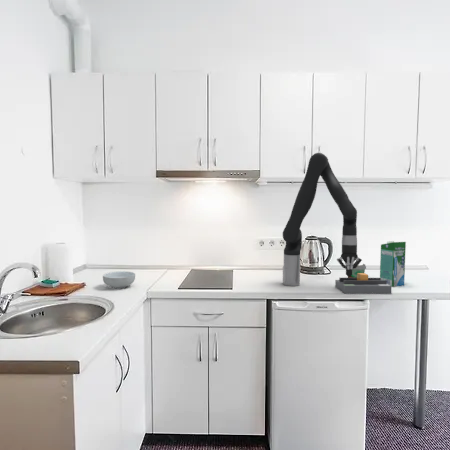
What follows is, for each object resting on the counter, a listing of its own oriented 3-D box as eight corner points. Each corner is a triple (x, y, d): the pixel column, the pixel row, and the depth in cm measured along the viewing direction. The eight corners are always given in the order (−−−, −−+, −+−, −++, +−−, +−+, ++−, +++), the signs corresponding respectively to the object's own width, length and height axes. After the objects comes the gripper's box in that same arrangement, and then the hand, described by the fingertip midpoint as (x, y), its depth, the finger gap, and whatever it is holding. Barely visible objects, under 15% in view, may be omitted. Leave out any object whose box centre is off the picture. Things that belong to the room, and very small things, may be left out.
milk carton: (391, 281, 195) (392, 239, 194) (404, 285, 187) (405, 241, 186) (379, 283, 192) (380, 240, 191) (392, 286, 184) (393, 242, 182)
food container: (352, 283, 191) (352, 266, 190) (345, 281, 197) (346, 264, 196) (370, 282, 194) (370, 265, 194) (363, 280, 200) (363, 263, 199)
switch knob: (360, 283, 173) (360, 274, 173) (356, 281, 177) (357, 273, 177) (367, 283, 173) (368, 274, 173) (364, 281, 177) (364, 273, 177)
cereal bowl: (101, 291, 170) (101, 278, 170) (104, 284, 186) (103, 272, 186) (135, 289, 175) (135, 276, 175) (135, 282, 191) (135, 270, 191)
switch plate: (344, 293, 168) (344, 282, 168) (335, 287, 182) (335, 276, 182) (391, 293, 168) (391, 282, 168) (378, 287, 182) (378, 276, 182)
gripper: (339, 244, 170) (339, 277, 171) (364, 244, 170) (364, 277, 171) (334, 243, 178) (334, 274, 178) (358, 242, 178) (358, 274, 179)
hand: (349, 276), depth 175 cm, fingers closed
